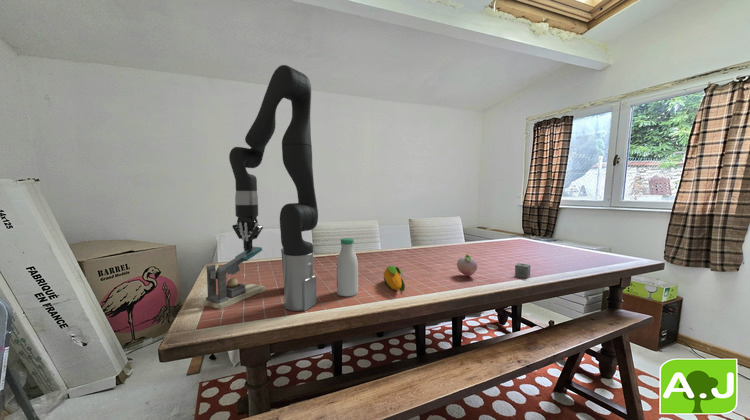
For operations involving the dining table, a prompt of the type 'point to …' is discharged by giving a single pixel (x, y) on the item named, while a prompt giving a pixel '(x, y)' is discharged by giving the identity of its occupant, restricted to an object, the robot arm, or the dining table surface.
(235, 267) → the lever
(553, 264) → the dining table surface
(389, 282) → the corn
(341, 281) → the milk bottle
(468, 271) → the decorative fruit
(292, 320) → the dining table surface
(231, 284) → the nut
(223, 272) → the cracker base
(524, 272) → the grey cube
